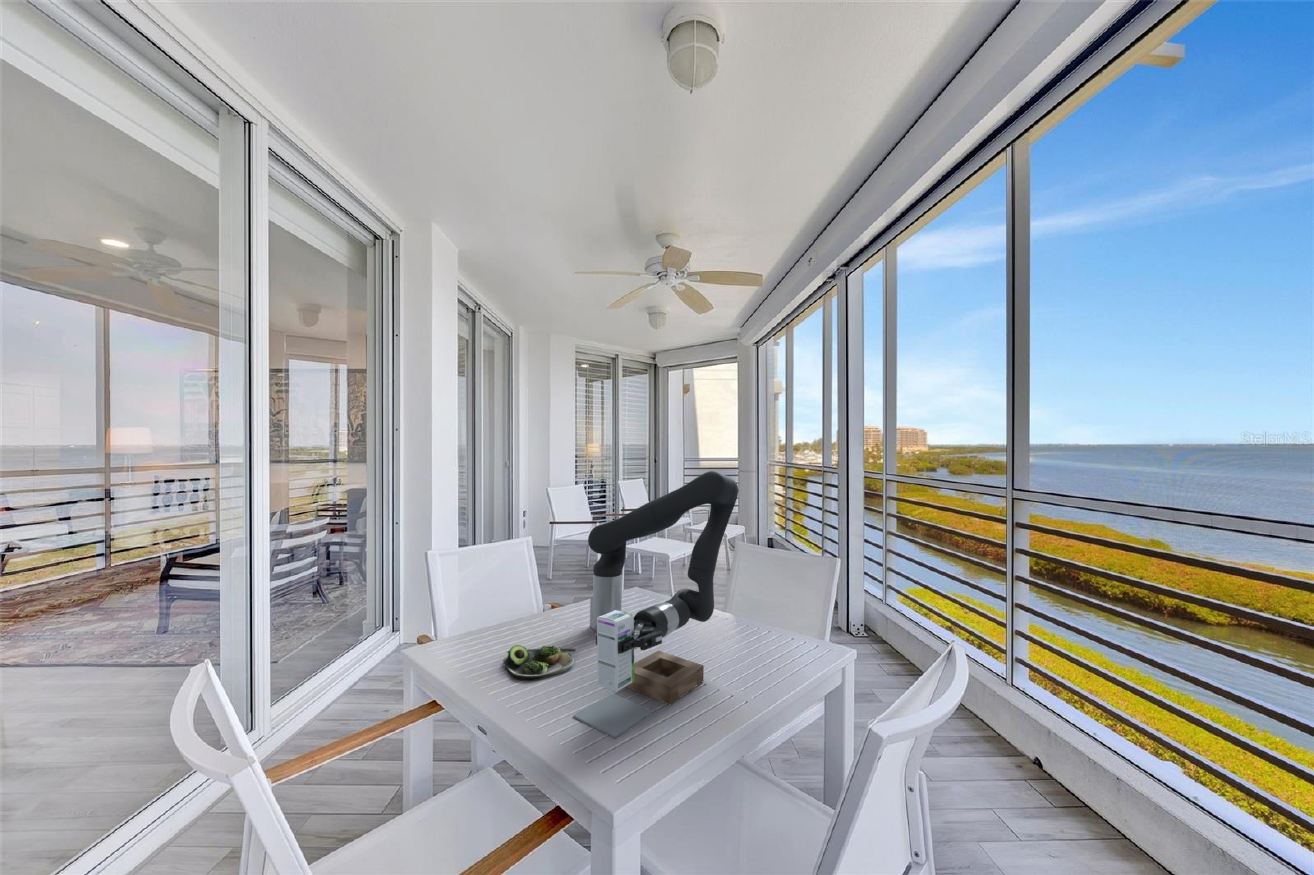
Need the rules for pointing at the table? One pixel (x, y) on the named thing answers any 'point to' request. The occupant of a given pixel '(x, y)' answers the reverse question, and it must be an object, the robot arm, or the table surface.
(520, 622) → the table surface
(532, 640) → the table surface
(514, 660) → the salad plate
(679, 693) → the socket block
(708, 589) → the robot arm
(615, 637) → the syrup box
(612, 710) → the mat
